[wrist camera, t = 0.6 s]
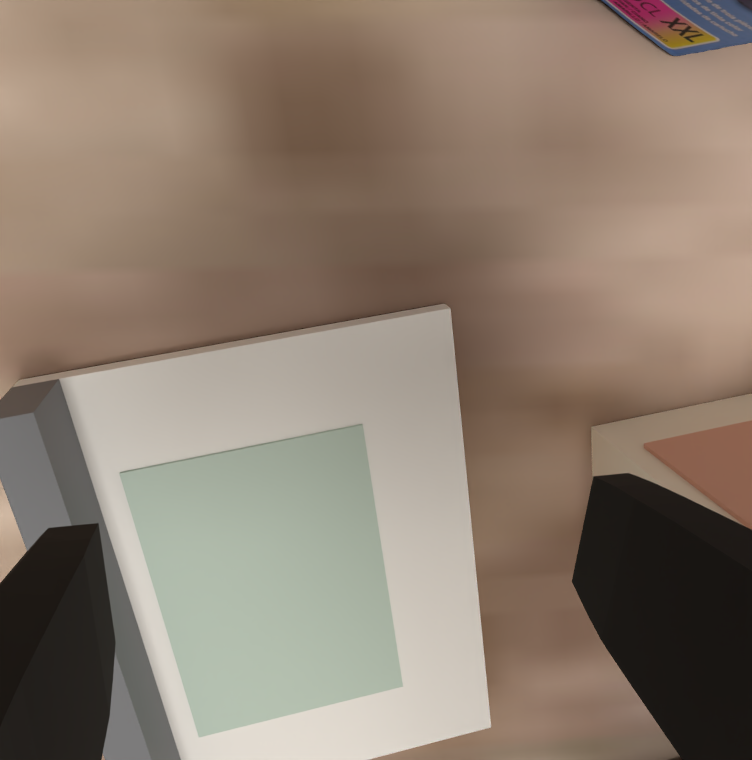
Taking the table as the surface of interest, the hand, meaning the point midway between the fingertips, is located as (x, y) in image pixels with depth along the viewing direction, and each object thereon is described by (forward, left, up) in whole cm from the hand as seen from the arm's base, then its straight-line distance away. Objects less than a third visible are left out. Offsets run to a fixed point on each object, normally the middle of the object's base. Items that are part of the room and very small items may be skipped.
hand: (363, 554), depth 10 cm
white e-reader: (-7, +2, -11) cm, 13 cm away
